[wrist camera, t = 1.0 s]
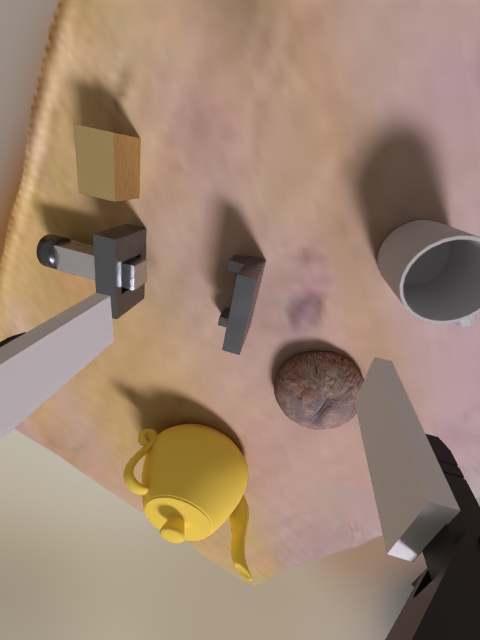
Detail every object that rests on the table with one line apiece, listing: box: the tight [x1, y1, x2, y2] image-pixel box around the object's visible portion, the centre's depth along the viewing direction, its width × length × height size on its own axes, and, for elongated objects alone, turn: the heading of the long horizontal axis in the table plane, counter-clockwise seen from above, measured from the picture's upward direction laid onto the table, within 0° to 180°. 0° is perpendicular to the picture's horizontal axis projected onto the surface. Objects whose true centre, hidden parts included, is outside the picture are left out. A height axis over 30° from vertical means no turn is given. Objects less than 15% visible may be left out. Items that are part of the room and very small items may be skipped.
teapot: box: [124, 424, 252, 581], centre depth 46 cm, size 25×18×14 cm
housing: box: [93, 224, 266, 355], centre depth 34 cm, size 18×9×7 cm, turn 79°
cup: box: [377, 220, 480, 327], centre depth 27 cm, size 7×10×9 cm
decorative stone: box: [274, 351, 364, 430], centre depth 38 cm, size 12×12×6 cm
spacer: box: [74, 124, 141, 202], centre depth 30 cm, size 4×6×5 cm, turn 169°
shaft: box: [37, 234, 147, 290], centre depth 35 cm, size 12×4×4 cm, turn 79°
